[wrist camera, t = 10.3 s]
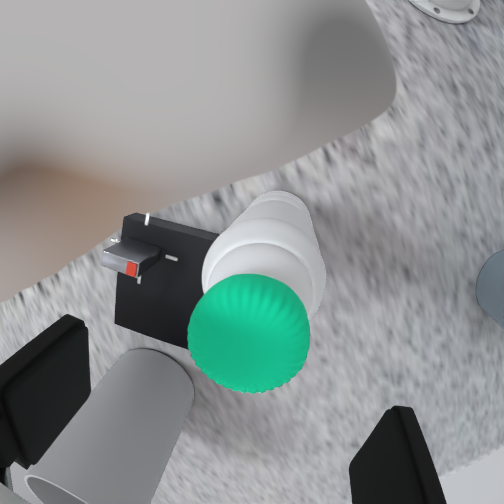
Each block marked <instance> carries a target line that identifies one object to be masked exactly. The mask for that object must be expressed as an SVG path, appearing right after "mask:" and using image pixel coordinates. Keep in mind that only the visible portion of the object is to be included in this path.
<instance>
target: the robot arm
mask: <svg viewBox="0 0 504 504" xmlns="http://www.w3.org/2000/svg"><path fill="white" fill-rule="evenodd" d="M409 1H410V2H411V3H412V4H413V5H415V6H416V7H417V8H418V9H420V10H421V11H423V12H424V13H426V14H428V15H430V16H432V17H434V18H436V19H438V20H441V21H444V22H448V23H464V22H467V21H469V20H471V19H472V18H474V17H475V16H476V15H477V13H478V12H479V9H480V0H409ZM90 393H91V383H90V368H89V342H88V328H87V327H85V323H84V321H83V320H81V319H78V318H76V317H74V316H71V315H69V314H66V315H64V316H63V317H61V318H60V319H59V320H57V321H56V322H55V323H54V324H52V325H51V326H50V327H48V328H47V329H46V330H44V331H43V332H42V333H40V334H39V335H38V336H37V337H35V338H34V339H33V340H31V341H30V342H29V343H28V344H26V345H25V346H24V347H22V348H21V349H20V350H19V351H17V352H16V353H15V354H14V355H12V356H11V357H10V358H9V359H7V360H6V361H5V362H4V363H2V364H1V365H0V504H31V503H29V502H27V501H26V500H25V499H23V498H22V497H20V496H19V495H17V494H16V493H14V492H13V487H12V480H11V473H10V466H11V464H12V463H13V462H14V461H15V462H16V463H18V464H19V465H21V466H22V467H23V468H25V469H28V468H29V466H30V465H31V464H32V465H35V464H37V463H38V462H39V460H40V459H41V458H42V457H43V455H44V454H45V453H46V451H47V450H48V449H49V448H50V446H51V445H52V444H53V442H54V441H55V440H56V439H57V437H58V436H59V435H60V433H61V432H62V431H63V430H64V428H65V427H66V426H67V425H68V423H69V422H70V421H71V420H72V418H73V417H74V416H75V414H76V413H77V412H78V411H79V409H80V408H81V407H82V406H83V404H84V403H85V402H86V401H87V399H88V398H89V396H90ZM349 476H350V485H351V495H352V504H447V503H446V500H445V497H444V494H443V490H442V487H441V484H440V481H439V478H438V475H437V472H436V469H435V467H434V464H433V461H432V458H431V455H430V452H429V450H428V447H427V444H426V442H425V439H424V436H423V434H422V431H421V428H420V426H419V423H418V421H417V418H416V415H415V413H414V410H413V409H412V408H411V407H404V406H393V407H392V408H391V409H388V410H387V411H386V412H385V413H384V415H383V416H382V418H381V419H380V421H379V422H378V424H377V425H376V427H375V428H374V430H373V431H372V433H371V434H370V436H369V437H368V439H367V440H366V442H365V443H364V444H363V446H362V447H361V449H360V450H359V451H358V453H357V454H356V456H355V457H354V458H353V460H352V461H351V463H350V466H349Z"/></svg>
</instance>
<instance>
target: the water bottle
mask: <svg viewBox="0 0 504 504" xmlns="http://www.w3.org/2000/svg"><path fill="white" fill-rule="evenodd" d="M202 287H203V292H204V295H203V296H202V298H201V299H200V300H199V302H198V303H197V305H196V307H195V309H194V311H193V313H192V315H191V317H190V323H189V325H188V336H187V340H188V349H189V351H190V352H191V357H192V359H193V360H195V364H196V366H197V367H199V368H201V371H202V373H204V374H207V376H208V378H209V379H212V380H214V381H215V383H216V384H221V385H223V387H225V388H231V389H232V390H233V391H241V392H243V393H246V392H250V393H252V394H254V393H256V392H261V393H263V392H265V391H266V390H273V389H274V388H275V387H280V386H282V384H283V383H287V382H289V381H290V379H291V378H292V377H294V376H296V374H297V372H298V371H300V370H301V369H302V367H303V365H304V362H305V360H306V358H307V353H308V350H309V345H310V326H309V320H310V319H311V318H312V317H313V316H314V314H315V313H316V311H317V310H318V308H319V306H320V304H321V302H322V299H323V296H324V293H325V288H326V270H325V265H324V261H323V258H322V256H321V253H320V250H319V245H318V241H317V238H316V235H315V232H314V229H313V224H312V221H311V217H310V213H309V211H308V209H307V207H306V206H305V204H304V203H303V202H302V201H301V200H300V199H299V198H298V197H296V196H295V195H293V194H291V193H288V192H285V191H271V192H267V193H264V194H262V195H260V196H259V197H257V198H256V199H255V200H254V201H253V202H252V203H251V204H250V205H249V206H248V207H247V208H246V209H245V211H244V212H243V213H242V214H241V215H239V216H238V217H237V218H236V219H235V220H234V222H233V223H232V224H231V225H230V226H229V227H228V229H226V230H225V231H224V232H223V233H222V234H220V235H219V236H218V237H217V239H216V240H215V241H214V242H213V244H212V245H211V247H210V249H209V250H208V252H207V255H206V257H205V260H204V264H203V269H202Z"/></svg>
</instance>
